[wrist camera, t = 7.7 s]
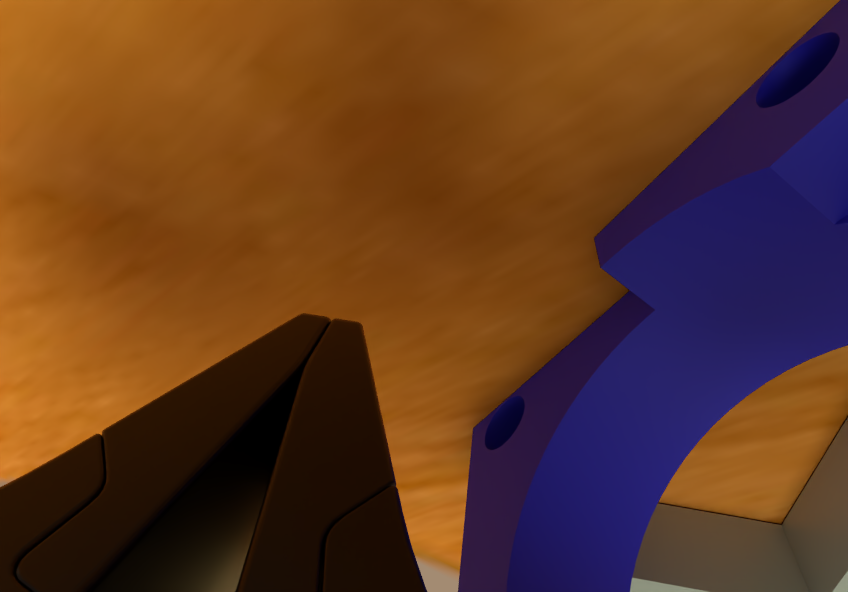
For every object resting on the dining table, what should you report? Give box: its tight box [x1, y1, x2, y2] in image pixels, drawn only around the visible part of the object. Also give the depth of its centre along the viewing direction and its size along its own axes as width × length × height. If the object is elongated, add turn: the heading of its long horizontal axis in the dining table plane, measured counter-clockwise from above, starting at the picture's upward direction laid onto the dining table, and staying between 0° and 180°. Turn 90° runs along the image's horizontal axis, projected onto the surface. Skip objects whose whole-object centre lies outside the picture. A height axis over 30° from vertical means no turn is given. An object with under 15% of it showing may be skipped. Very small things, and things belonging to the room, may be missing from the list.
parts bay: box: [630, 418, 848, 592], centre depth 12 cm, size 9×18×2 cm, turn 174°
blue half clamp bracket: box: [458, 0, 848, 592], centre depth 12 cm, size 12×4×6 cm, turn 144°
